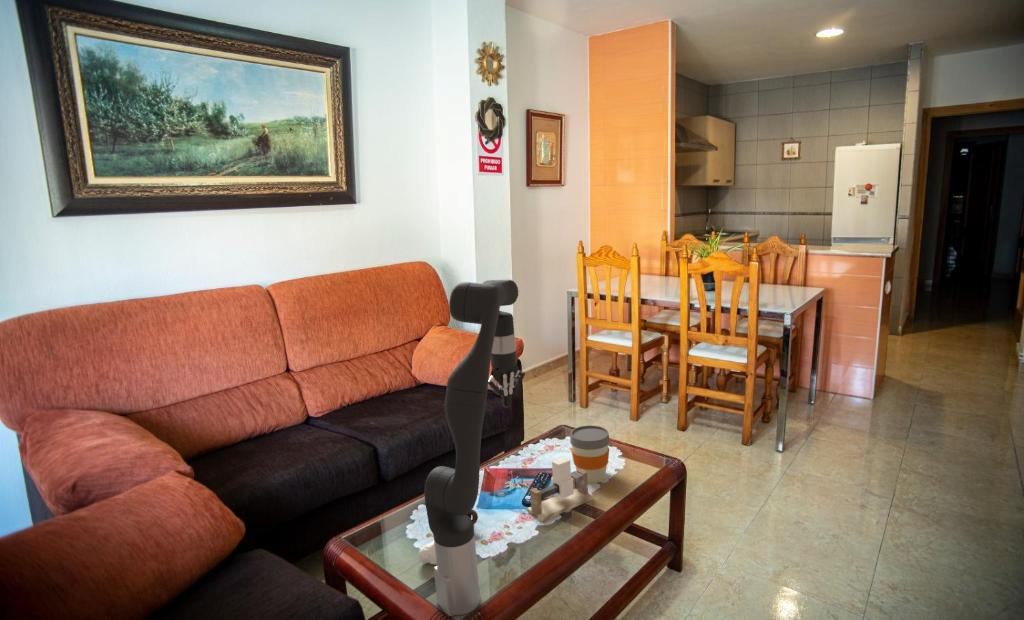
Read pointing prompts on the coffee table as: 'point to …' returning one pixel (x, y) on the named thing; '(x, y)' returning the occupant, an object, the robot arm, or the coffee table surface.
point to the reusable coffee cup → (590, 451)
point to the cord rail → (557, 504)
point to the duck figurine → (428, 553)
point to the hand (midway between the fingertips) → (507, 406)
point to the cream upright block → (562, 477)
